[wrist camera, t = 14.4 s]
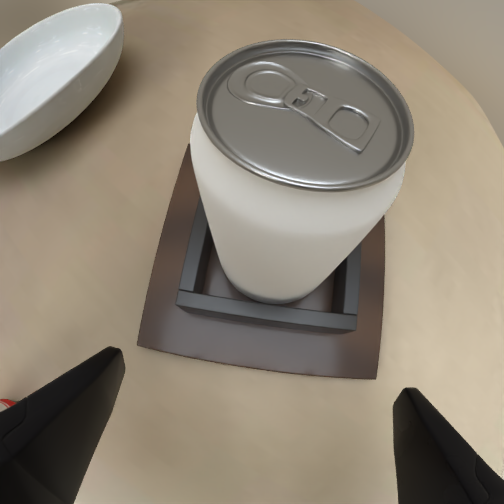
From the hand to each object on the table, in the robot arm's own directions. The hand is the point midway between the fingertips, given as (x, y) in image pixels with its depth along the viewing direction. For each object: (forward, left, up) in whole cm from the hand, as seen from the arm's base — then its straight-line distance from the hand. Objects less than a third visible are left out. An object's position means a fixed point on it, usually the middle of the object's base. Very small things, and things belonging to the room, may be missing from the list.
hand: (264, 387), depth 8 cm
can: (+7, 0, -8) cm, 11 cm away
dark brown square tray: (+7, 0, -9) cm, 11 cm away
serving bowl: (+20, +25, -9) cm, 33 cm away
